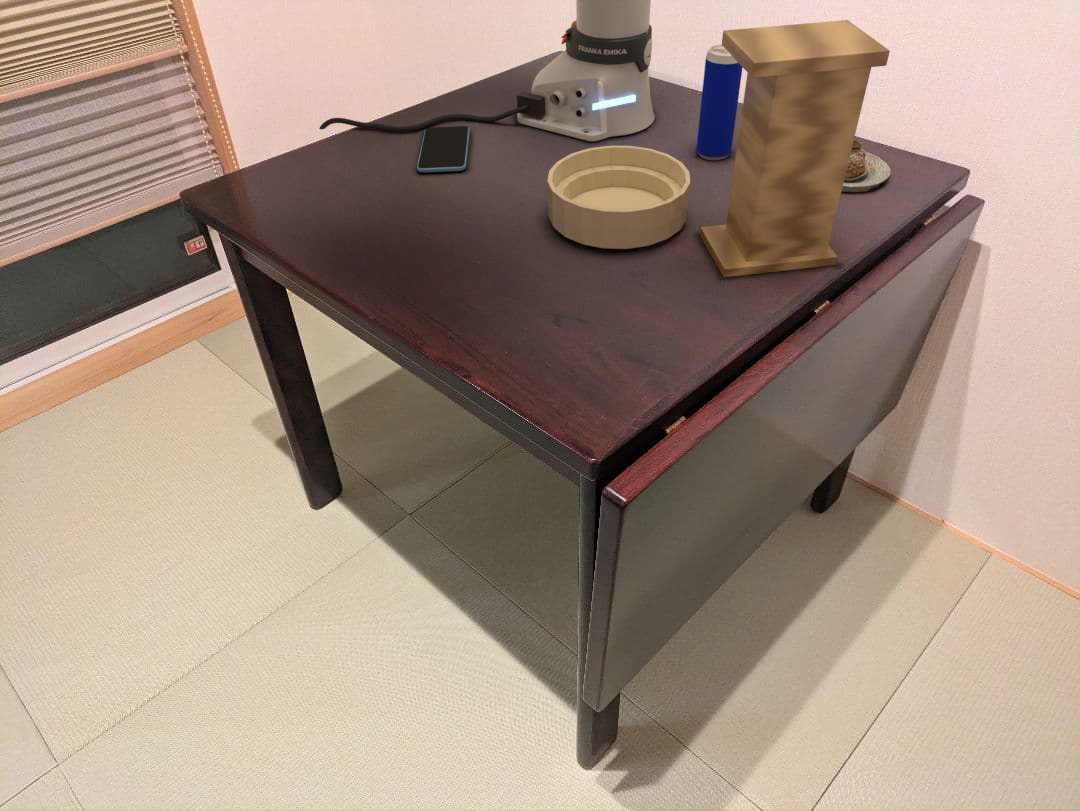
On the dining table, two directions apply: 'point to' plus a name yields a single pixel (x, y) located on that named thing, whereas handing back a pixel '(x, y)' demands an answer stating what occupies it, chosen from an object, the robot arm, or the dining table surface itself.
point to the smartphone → (444, 149)
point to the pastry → (864, 170)
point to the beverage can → (718, 104)
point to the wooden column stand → (792, 143)
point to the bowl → (618, 196)
